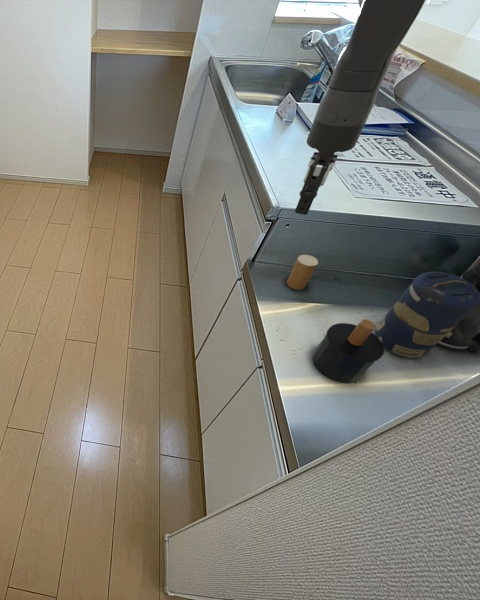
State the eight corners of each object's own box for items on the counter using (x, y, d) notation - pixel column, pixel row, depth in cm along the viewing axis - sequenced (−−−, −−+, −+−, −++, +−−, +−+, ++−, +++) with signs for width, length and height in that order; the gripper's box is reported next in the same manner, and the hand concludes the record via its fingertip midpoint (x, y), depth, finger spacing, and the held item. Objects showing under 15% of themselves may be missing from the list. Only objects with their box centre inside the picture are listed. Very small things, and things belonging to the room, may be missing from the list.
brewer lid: (382, 338, 68) (400, 317, 64) (379, 372, 63) (398, 352, 59) (328, 320, 72) (342, 299, 68) (320, 350, 67) (335, 330, 63)
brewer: (363, 359, 73) (382, 336, 68) (358, 390, 68) (379, 368, 63) (316, 342, 77) (331, 319, 72) (308, 370, 72) (324, 348, 67)
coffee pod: (306, 282, 91) (319, 258, 85) (303, 292, 88) (316, 267, 83) (288, 276, 93) (300, 252, 87) (284, 286, 90) (296, 262, 84)
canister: (433, 363, 71) (502, 301, 58) (381, 357, 73) (437, 296, 60) (412, 328, 78) (470, 266, 65) (364, 324, 79) (411, 263, 67)
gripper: (362, 133, 53) (319, 225, 64) (371, 106, 61) (332, 192, 72) (307, 127, 56) (276, 215, 68) (323, 103, 64) (293, 185, 75)
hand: (305, 203), depth 70 cm, fingers open, 8 cm apart
